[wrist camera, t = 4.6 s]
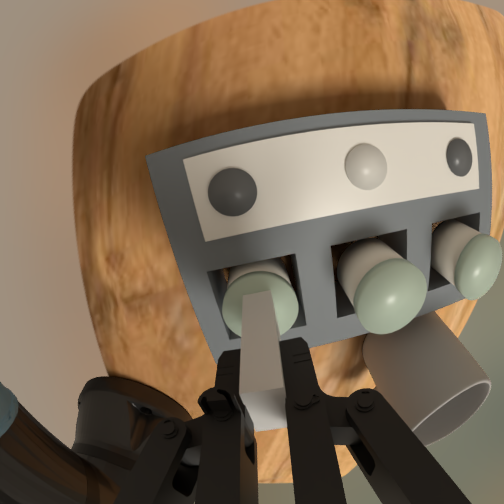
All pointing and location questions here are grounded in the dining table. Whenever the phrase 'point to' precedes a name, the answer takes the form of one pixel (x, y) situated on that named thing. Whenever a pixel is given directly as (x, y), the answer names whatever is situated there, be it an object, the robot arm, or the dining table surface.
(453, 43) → the dining table surface
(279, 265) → the button
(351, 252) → the button mid
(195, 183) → the card
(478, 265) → the button
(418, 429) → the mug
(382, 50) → the dining table surface
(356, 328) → the button board
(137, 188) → the dining table surface
